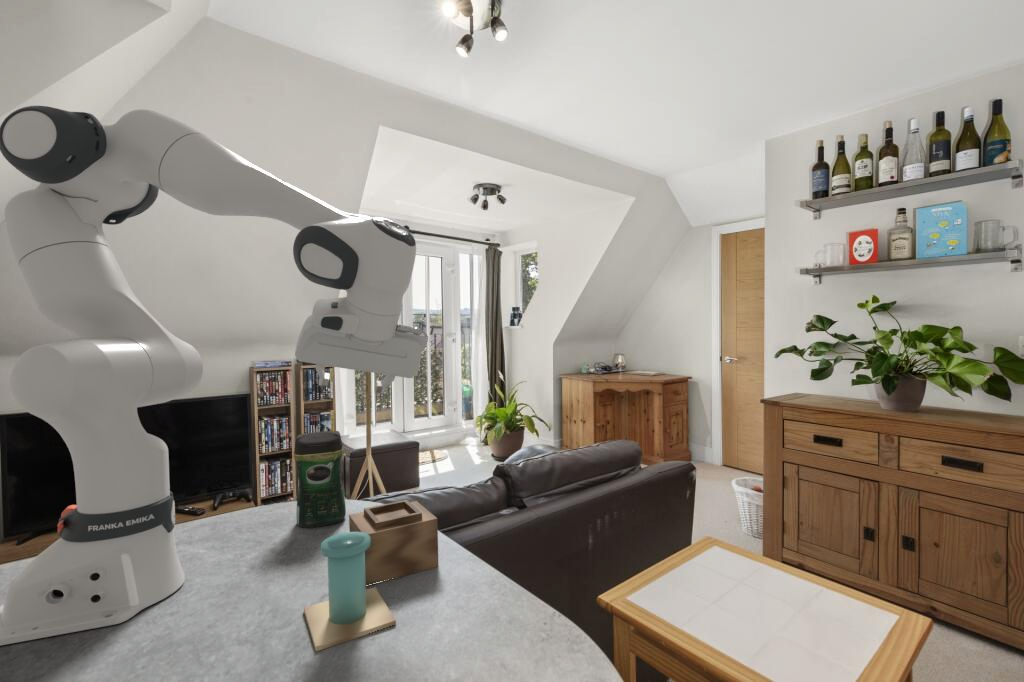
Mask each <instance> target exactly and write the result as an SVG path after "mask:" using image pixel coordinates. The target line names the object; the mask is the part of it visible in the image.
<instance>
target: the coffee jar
mask: <svg viewBox="0 0 1024 682" xmlns="http://www.w3.org/2000/svg"><path fill="white" fill-rule="evenodd" d="M294 442H295V443H294V451H293V457H294V461H295V462H296V467H297V482H298V483H297V499H296V524H297V525H298V526H300V527H301V528H313V527H314V526H315V527H320V526H327V525H332V524H336V523H339V522H340V521H342V520H344V519H345V517H346V514H347V513H346V509H347V508H346V499H345V493H344V488H343V479H342V470H341V469H342V467H341V466H342V465H341V461H342V460H341V459H342V456H343V453H344V445H343V440H342V436H341V433H340V431H339V430H332V431H331V430H329V431H328V430H325V431H314V432H306V433H299V434H298V435H297V436H296V438H295V441H294ZM315 527H314V528H315Z"/></svg>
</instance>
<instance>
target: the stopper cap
mask: <svg viewBox="0 0 1024 682" xmlns="http://www.w3.org/2000/svg"><path fill="white" fill-rule="evenodd" d="M370 545H371V540H370V536H369V535H368V534H366V533H363V532H350V531H345V532H340V533H337V534H334V535H331V536H330V537H326V538H325V539H324V540H323V541H322V542H321V543H320V553H321V555H322V556H323V557H326V558H327V583H328V584H327V586H328V588H327V590H328V601H329V619H330V621H331V622H332V623H334V624H341V625H342V624H349V623H353V622H355V621H358V620H359V619H361V618H362V617H363V616H364V615H365V614H366V590H367V587H366V580H365V551H366V550H367V549H368V548H369V547H370Z"/></svg>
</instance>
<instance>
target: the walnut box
mask: <svg viewBox="0 0 1024 682" xmlns="http://www.w3.org/2000/svg"><path fill="white" fill-rule="evenodd" d="M348 521H349V522H348V525H349V526H348V527H349V532H363V533H366V534H368V535H369V536H370V540H371V545H370V547H369V548H368V549H367V550H366V551H365V580H366V585H369V584H373V583H376V582H380V581H384V580H388V579H392V578H395V579H398V577H399V578H402V577H405V575H406V576H409V575H412V574H416V573H419V572H423V571H426V570H427V571H428V570H430V569H434V568H437V567H439V533H438V532H439V531H438V530H439V529H438V517H437V516H435V515H434V514H433V513H432V512H431V511H429V510H428V508H426V507H425V506H423V505H422V504H421V503H420V502H419V501H417V500H413V501H409V500H408V499H404V500H398V501H394V502H389V503H385V504H384V503H383V504H379V505H378V504H377V505H374V506H369V507H364V508H363V511H360V512H356V513H351V514H348ZM401 576H402V577H401ZM392 580H393V579H392ZM388 581H389V580H388Z"/></svg>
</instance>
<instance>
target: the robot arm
mask: <svg viewBox="0 0 1024 682" xmlns="http://www.w3.org/2000/svg"><path fill="white" fill-rule="evenodd" d="M0 153H1V154H2V156H3V157H4V158H5V160H6V161H7V162H8V163H10V165H11V166H12V167H14V168H15V169H16V170H18V172H20V173H21V174H23V175H24V176H26V177H27V178H29V179H31V180H33V181H35V182H38V183H39V185H38V186H37V187H36V188H34V189H30V190H24V191H22V192H19V193H18V194H15V195H14V196H12V198H10V199H9V200H8V202H7V203H6V205H5V208H4V217H5V226H6V232H7V235H8V239H9V242H10V246H11V249H12V251H13V252H12V253H13V255H14V257H15V259H16V263H17V265H18V267H19V269H20V272H21V274H22V276H23V278H24V280H25V283H26V285H27V287H28V290H29V292H30V294H31V296H32V298H33V300H34V302H35V305H36V306H37V309H38V311H39V312H40V313H41V314H42V315H43V316H44V318H46V319H47V320H48V321H50V322H51V323H53V324H55V325H56V326H58V327H61V328H63V329H65V330H67V331H69V332H70V333H73V334H74V335H76V336H77V337H76V338H75V337H74V338H68V339H62V340H58V341H52V342H48V343H44V344H40V345H37V346H32V347H30V348H29V349H27V350H25V351H24V352H23V353H22V354H21V355H20V356H19V357H18V358H17V360H16V361H15V363H14V365H13V366H12V367H13V368H12V370H11V373H10V390H11V392H12V395H13V397H14V399H15V400H16V402H17V403H18V405H19V406H20V407H21V408H23V409H24V410H25V411H26V412H28V413H29V414H30V415H33V416H35V417H37V418H39V419H41V420H43V421H44V422H45V423H48V425H50V426H51V427H52V428H53V429H54V430H56V432H57V433H58V434H59V435H60V437H61V439H62V440H63V442H64V443H65V444H66V447H67V448H68V451H69V453H70V457H71V461H72V465H73V466H72V467H73V472H74V482H75V483H74V484H75V497H76V498H75V499H76V500H75V501H76V504H71V505H68V506H67V507H65V509H64V510H63V511H62V512H61V514H60V518H59V519H58V523H57V534H58V535H59V539H56V541H54V542H53V543H51V544H50V545H49V546H48V547H46V549H44V550H43V551H41V552H40V553H39V554H37V555H36V556H35V557H33V559H31V560H30V561H29V562H27V563H26V564H25V565H24V566H23V567H22V568H21V569H20V570H19V571H18V572H17V573H16V574H14V575H15V576H14V577H13V578H12V580H11V581H10V583H9V585H8V587H7V590H6V593H5V597H4V601H3V603H2V604H1V605H0V646H4V645H10V644H15V643H17V644H18V643H23V642H26V641H27V642H28V641H33V640H38V639H43V638H49V637H53V636H59V635H65V634H71V633H75V632H82V631H85V630H86V631H87V630H91V629H98V628H103V627H108V626H113V625H118V624H121V623H123V622H125V621H128V620H130V619H131V618H133V617H134V616H135V615H137V614H138V613H139V612H141V611H142V610H144V609H146V608H148V607H150V606H152V605H153V604H156V603H158V602H160V601H162V600H164V599H166V598H167V597H170V595H172V594H174V593H175V592H176V591H178V590H179V588H181V587H182V586H183V584H184V583H185V581H186V573H185V572H184V569H183V568H182V567H183V566H182V564H181V561H180V558H179V555H178V551H177V547H176V542H175V536H174V535H175V534H174V528H175V525H176V509H175V508H176V505H175V504H176V503H175V500H174V493H173V492H172V491H171V490H170V489H171V485H170V484H171V483H170V459H169V455H170V454H169V448H168V445H167V443H166V442H165V441H164V440H163V439H161V438H160V437H159V436H156V435H154V434H151V433H148V432H147V431H146V429H145V428H144V427H143V425H142V423H141V420H140V417H139V414H138V413H139V412H138V408H143V407H147V406H153V405H157V404H158V405H159V404H164V403H167V402H170V401H172V400H175V399H177V398H180V397H182V396H184V395H186V394H188V393H190V392H192V391H194V390H195V389H196V387H198V385H199V384H200V382H201V380H202V378H203V373H204V371H203V370H204V364H203V361H202V360H203V359H202V357H201V355H200V353H199V352H198V350H197V349H196V348H195V347H194V346H193V345H191V344H190V343H188V342H186V341H184V340H183V339H181V338H179V337H177V336H175V335H174V334H172V333H171V332H170V331H169V330H167V328H165V327H164V325H163V324H161V323H160V322H159V321H158V320H157V319H156V318H155V317H154V316H153V315H152V313H151V312H149V310H147V308H146V307H145V306H144V304H142V302H141V301H140V300H139V299H138V297H137V296H136V294H135V293H134V291H133V289H132V288H131V287H130V284H129V282H128V281H127V278H126V277H125V274H124V273H123V270H122V268H121V267H120V264H119V262H118V260H117V259H116V256H115V254H114V252H113V250H112V248H111V246H110V244H109V242H108V240H107V237H106V235H105V232H104V231H103V230H104V229H103V224H105V225H111V226H112V225H120V224H122V223H123V222H125V221H126V220H127V219H130V218H133V217H136V216H138V215H141V214H142V213H144V212H145V211H147V210H148V209H149V208H151V206H153V204H154V203H155V201H156V200H157V198H158V197H159V196H158V195H159V191H162V192H164V194H167V195H168V196H170V197H172V198H173V199H175V200H176V201H178V202H180V203H182V204H184V205H185V206H188V207H190V208H192V209H194V210H197V211H201V212H203V213H206V214H209V215H214V216H221V217H222V216H224V217H225V216H226V217H229V216H231V217H232V216H233V217H237V216H238V217H240V216H241V217H242V216H243V217H246V216H247V217H260V218H266V219H273V220H275V221H279V222H280V221H281V222H283V223H284V224H288V225H289V226H291V227H293V228H295V229H297V230H299V232H298V233H297V235H296V237H295V239H294V242H293V248H292V255H293V260H294V263H295V266H296V267H297V269H298V270H299V272H300V273H301V275H302V276H304V278H305V279H307V280H308V281H310V282H311V283H313V284H316V285H319V286H323V287H326V288H331V289H336V290H341V291H342V290H343V291H345V292H346V296H344V297H343V296H342V297H333V298H332V297H331V298H320V299H317V300H315V303H314V305H313V308H312V312H311V315H309V316H308V317H307V318H306V319H305V321H304V323H303V324H302V327H301V330H300V333H299V335H298V339H297V342H296V346H295V347H296V348H295V351H294V356H295V358H296V359H297V361H298V362H300V363H307V364H312V365H313V364H314V365H315V370H316V372H317V374H318V377H319V378H318V379H319V380H318V386H319V387H329V382H330V375H331V374H330V373H328V372H326V371H325V369H326V366H327V367H333V368H340V369H347V370H353V371H358V372H359V371H361V372H365V373H367V372H368V373H373V374H381V375H385V377H383V379H381V380H376V382H375V385H374V393H375V394H380V395H384V392H385V390H386V388H387V387H388V386H389V385H390V384H392V383H393V382H394V381H395V379H396V377H400V378H406V379H413V378H414V377H416V376H417V375H418V373H419V370H420V364H421V359H422V352H424V351H425V350H426V348H427V345H428V342H429V336H428V335H427V333H426V332H425V331H423V329H422V328H419V327H413V326H409V325H404V324H400V323H398V322H399V320H400V316H401V312H402V310H403V309H402V308H403V298H404V295H405V293H406V291H407V290H408V288H409V285H410V283H411V280H412V279H411V278H412V275H413V271H414V267H415V262H416V254H417V243H416V239H415V237H414V235H413V234H411V232H410V231H409V230H408V229H407V228H406V227H405V226H403V225H401V224H400V223H398V222H395V221H394V220H390V219H388V218H384V217H380V216H375V217H370V216H369V215H365V214H358V213H350V212H345V211H342V210H340V209H338V208H337V207H336V208H335V207H334V206H332V205H330V204H328V203H326V202H325V201H323V200H320V199H319V198H317V197H315V196H313V195H311V194H310V193H308V192H306V191H304V190H302V189H300V188H298V187H296V186H294V185H292V184H290V183H289V182H286V181H284V180H283V179H280V178H278V177H276V176H275V175H273V174H272V173H270V172H268V171H266V170H264V169H262V168H260V167H259V166H257V165H256V164H253V163H252V162H250V161H248V160H247V159H245V158H244V157H242V156H240V155H238V154H237V153H235V152H233V151H232V150H230V149H229V148H227V147H226V146H224V145H222V144H221V143H219V142H218V141H216V140H214V139H213V138H211V137H209V136H208V135H205V134H204V133H202V132H201V131H199V130H197V129H195V128H194V127H191V126H190V125H188V124H185V123H183V122H182V121H179V120H177V119H175V118H172V117H170V116H168V115H165V114H162V113H160V112H157V111H154V110H150V109H135V110H131V111H129V112H127V113H125V114H123V115H122V116H121V117H120V118H119V119H118V120H117V121H116V122H115V123H114V124H111V125H106V124H101V122H100V121H99V120H98V118H97V117H96V116H95V115H94V114H91V113H89V112H84V111H82V112H81V111H69V110H65V109H60V108H56V107H51V106H46V105H45V106H44V105H28V106H23V107H21V108H18V109H16V110H14V111H12V112H10V114H8V115H7V116H6V117H5V119H3V121H2V123H1V124H0Z"/></svg>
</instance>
